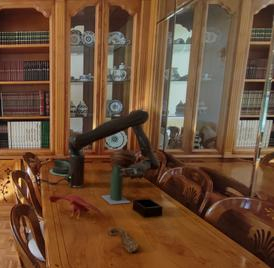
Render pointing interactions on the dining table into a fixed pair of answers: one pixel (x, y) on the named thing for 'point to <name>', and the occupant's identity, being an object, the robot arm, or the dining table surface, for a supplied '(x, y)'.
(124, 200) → the coaster
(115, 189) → the bottle
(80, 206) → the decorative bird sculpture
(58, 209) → the dining table surface
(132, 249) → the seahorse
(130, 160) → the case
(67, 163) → the green hat
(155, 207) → the holder
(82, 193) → the dining table surface
